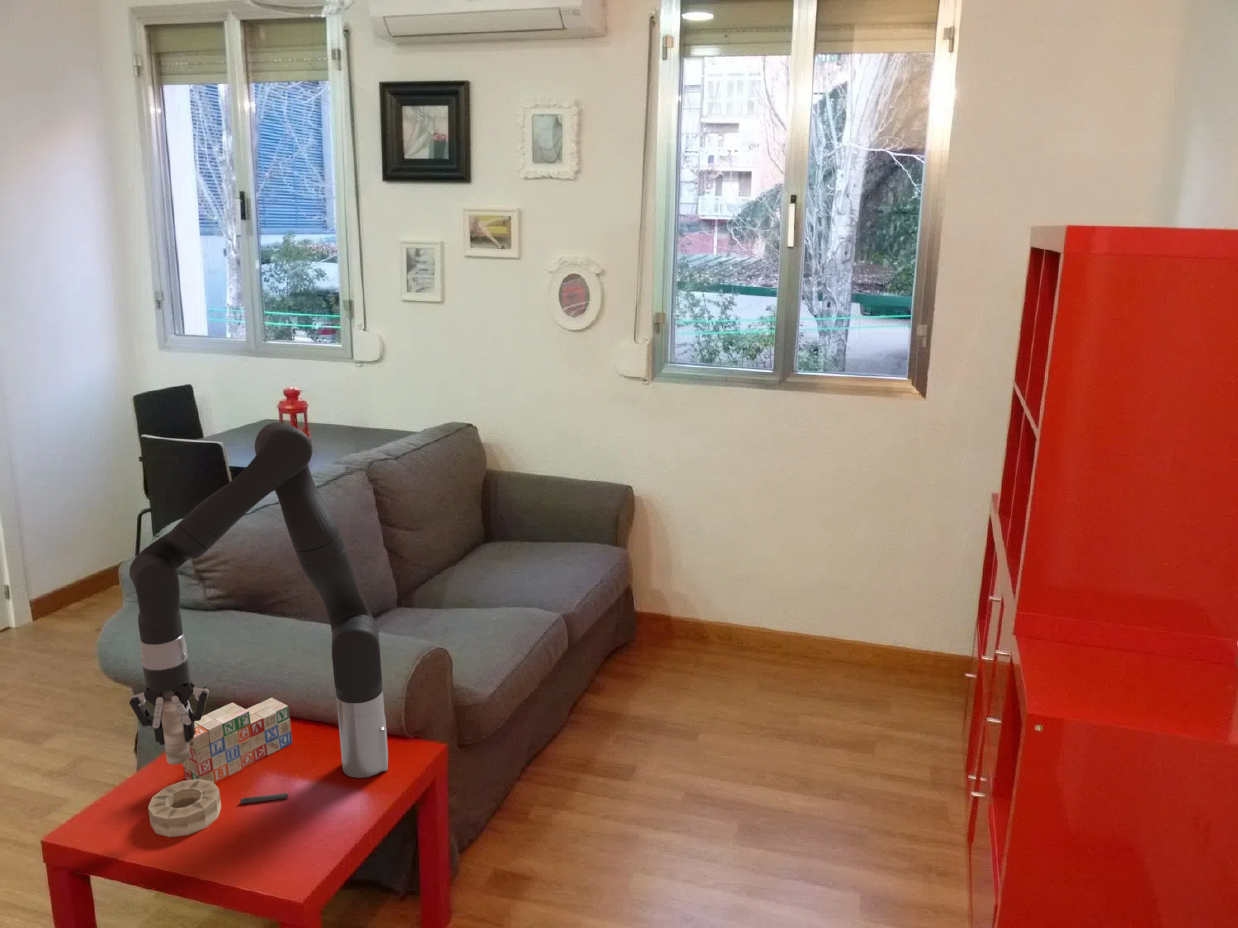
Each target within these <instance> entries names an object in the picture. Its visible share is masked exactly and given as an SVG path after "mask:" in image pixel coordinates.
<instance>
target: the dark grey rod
mask: <svg viewBox="0 0 1238 928" xmlns="http://www.w3.org/2000/svg"><path fill="white" fill-rule="evenodd" d="M287 798H289V794H288V792H283V793H275V794H267V795H259V796H250V797H243V798H241V799H240V800H239V801H240V804H242V805H243V804H250V803H252V804H253V803H259V802H266V801H274V800H275V801H276V800H282V799H287Z"/></svg>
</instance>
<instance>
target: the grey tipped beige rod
mask: <svg viewBox="0 0 1238 928" xmlns="http://www.w3.org/2000/svg"><path fill="white" fill-rule="evenodd" d="M173 694H174V692H173V691H171V690H166V691H164V692H163V693H162V696H163V697H164V702H163V706H162V714H161V722H162V729H163V736H164V743H165V744H164V748H165V756H166V762H167V764H170V765H181V764H183V763H184V762H186V761H187V760H188V759H189V758H190V750H189V742H186V738H185V731H184V724H185V723H184V721H183V719H182V717H181V716H180V715H179V713H178V711H177V709H176V707H175V704H173V702H172V700H171V698H172V696H173Z"/></svg>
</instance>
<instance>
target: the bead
mask: <svg viewBox="0 0 1238 928" xmlns="http://www.w3.org/2000/svg"><path fill="white" fill-rule="evenodd" d="M147 808H148V809H147V810H148V815H149V821H150V822H149V824H150V827H151V828H152V829H153V831H154V832H155V834H156V835H160V836H164V837H167V838H174V837H176V838H177V837H181V836H183V837H184V836H190V835H192V834H194V833H197V832H199V831H201V830H204V829H206V828H208V827H209V826H210V825H211V824H212V823H213V822H215V821H216V820H217V819H218V818H219V817H220V816H219V815H220V814H221V809H222V802H221V792H220V789H219V787H218V786H217V785H216V784H215V783H213V782H211V781H207V780H202V779H195V780H186V779H185V780H181V781H178V782H176V783H175V782H174V783H173V784H171V785H167V786H165V787H164V788H162V789H161V790H160V791H158V792H157V793H156V794H155V795H153V796H152V798H151V799H150V802H149V804H148V807H147Z"/></svg>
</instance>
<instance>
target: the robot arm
mask: <svg viewBox="0 0 1238 928" xmlns="http://www.w3.org/2000/svg"><path fill="white" fill-rule="evenodd" d="M254 453H255V456H254V458H253V459H252V460H251V461H250V462H249V463H248V465H247V466H246V467H245V468H244V469H243V470H242V471H241V472H240V473H238V474H237V475H236V476H235V477H234V478H233V479H232V480H231V481H229V482H228V483H227V484H225V485H224V486H222V487H221V488H220V489H218V490H216V491H215V492H213V493H212V494H210V495H209V496H208V497H206V498H205V499H203V500H202V501H201V502H200V503H198V504H197V505H196V506H195V507H194V508H193V509H191V510H190V511H189V512H188V513H187V514H186V515H185V517H183V518H182V519H181V520H180V521H179V522H178V523H177V524H176V525H175V526H174V527H173V528H172V530H170V531H169V532H167V533H166V534H164V535H162V536H161V537H159V538H158V539H157V540H155V541H153V542H152V543H150V544H149V545H147V546H146V547H145V548H143V550H142V551H140V552H139V553H138V554H137V555H136V556H135V558H134V559H133V560H132V562H131V564H130V566H129V571H128V573H129V578H130V580H131V582H132V584H133V585H134V588H135V589H134V590H135V593H136V597H137V602H138V604H137V605H138V610H139V612H138V615H137V616H138V617H137V622H138V624H137V626H138V631H139V639H140V655H141V656H140V663H141V664H142V670H143V671H142V673H143V678H144V685H145V689H144V691H143V692H141V693H137V692H135V693H133V694H132V696H131V698H130V700H129V702H128V703H129V705H130V708H131V709H132V710H133V712H134V714H135V715H136V717H137V719H138V720H139V722H140V724H141V726H142V727H148V726H150V727H152V728H153V731H154V737H155V742H156V743H159V746H165V743H164V736H163V729H162V722H161V714H162V706H163V702H164V697H163V696H162V693H163V692H164V691H166V690H171V691H173V692H174V694H173V696H172V698H171V700H172V702H173V704H175V707H176V709H177V711H178V713H179V715H180V716H181V717H182V719H183V721H184V723H185V724H184V731H185V738H186V742H191V739H193V737H194V735H195V725H194V722H195V721H200V720H201V718H202V716H204V712H205V708H206V705H207V701H208V698H209V695H210V694H209V693H210V689H211V688H210V687H209V686H203V688H202V687H196V686H195V684H194V683H193V682H192V680H191V673H190V666H189V664H190V663H189V658H188V657H189V656H188V650H187V649H188V648H187V642H186V639H185V635H184V630H183V623H182V616H181V615H182V614H181V611H180V602H181V600H180V599H181V598H180V597H181V595H180V594H181V590H180V589H181V588H180V578H179V574H178V571H177V570H178V569H179V568H180V567H181V566H182V565H184V564H185V563H186V562H188V561H189V560H190V559H192V560H197V559H199V558H200V557H202V556H203V555H204V554H206V553H207V552H208V551H209V550H210V549H211V548H212V547H213V546H214V545H215V544H216V543H217V542H218V541H219V540H220V539H221V538H222V537H223V536H224V535H225V534H226V533H227V532H228V531H229V530H230V529H231V528H232V527H233V526H234V525H235V524H237V522H238V521H240V520H241V519H242V518H243V517H244V516H245V515H246V514H247V513H248V512H249V511H250V510H252V508H254V507H255V506H256V505H257V504H258V503H260V501H263V499H265V498H266V497H267V496H268V495H269V494H271V493H272V492H273V491H274V492H275V494H276V497H277V499H278V502H279V505H280V509H281V513H282V515H283V519H284V522H285V525H286V528H287V529H286V530H287V533H288V534H289V538H290V540H291V543H292V546H293V549H294V552H295V554H296V558H297V559H298V562H299V565H300V568H301V569H302V571H303V573H304V575H305V577H306V578H307V579H308V581H309V582H310V584H311V585H312V587H313V588H314V589H315V590H316V591H317V594H318V595H319V596H320V598H321V599H322V602H323V604H324V607H325V610H326V613H327V617H328V619H329V620H328V621H329V625H330V629H331V630H330V631H331V662H332V670H333V681H334V683H333V684H334V688H335V697H336V707H337V709H336V710H337V720H338V730H339V741H340V752H341V755H340V756H341V764H342V765H341V767H342V771H343V772H344V774H345V775H346V776H348V777H351V778H354V779H355V778H356V779H362V778H363V779H364V778H365V779H366V778H369V777H373V776H375V775H378V774H380V773H382V772H387V771H388V770H389V768H388V767H389V765H388V764H389V748H388V735H387V734H388V732H387V721H386V720H387V719H386V715H385V702H384V690H383V675H382V662H381V661H382V660H381V647H380V646H381V645H380V633H379V632H380V631H379V628H378V625H377V623H376V621H375V618H374V617H373V615H372V613H371V612H370V610H369V608H368V606H367V604H366V602H365V600H364V598H363V596H362V594H361V591H360V590H359V589H360V588H359V586H358V583H357V580H356V576H355V571H354V568H353V564H352V563H353V562H352V561H351V557H350V554H349V551H348V547H347V545H346V542H345V539H344V537H343V535H342V532H341V529H340V526H339V525H338V522H337V520H336V519H335V518H336V517H334V515H333V513H332V511H331V510H330V508H329V506H328V505H327V503H326V502H325V499H324V498H323V496H322V495H321V493H320V491H319V489H318V488H317V485H316V484H315V481H314V479H313V476H312V472H311V470H310V467H309V463H310V462H311V459H312V457H313V456H312V455H313V444H312V442H311V440H310V438H309V436H308V435H307V434H306V433H305V432H304V431H302V430H301V429H299V428H297V427H295V426H294V425H291V424H289V423H286V422H271V423H269V424H267V425H265V426H263V427H262V428H261V429H260V430H259V432H258V433H257V435H256V437H255V441H254ZM192 695H194V698H195V700H196V701H198V702H197V706H196V709H195V711H194V712H193V710H192V708H191V704H190V701H189V699H190V698H191V696H192ZM146 700H147V701H148V702H149V703H150V704H151V705H152V706H153V707H154V712H153V715H152V713H151V712H150V710H149V708H148V707H147V706H146V704H145V703H146Z"/></svg>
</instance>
